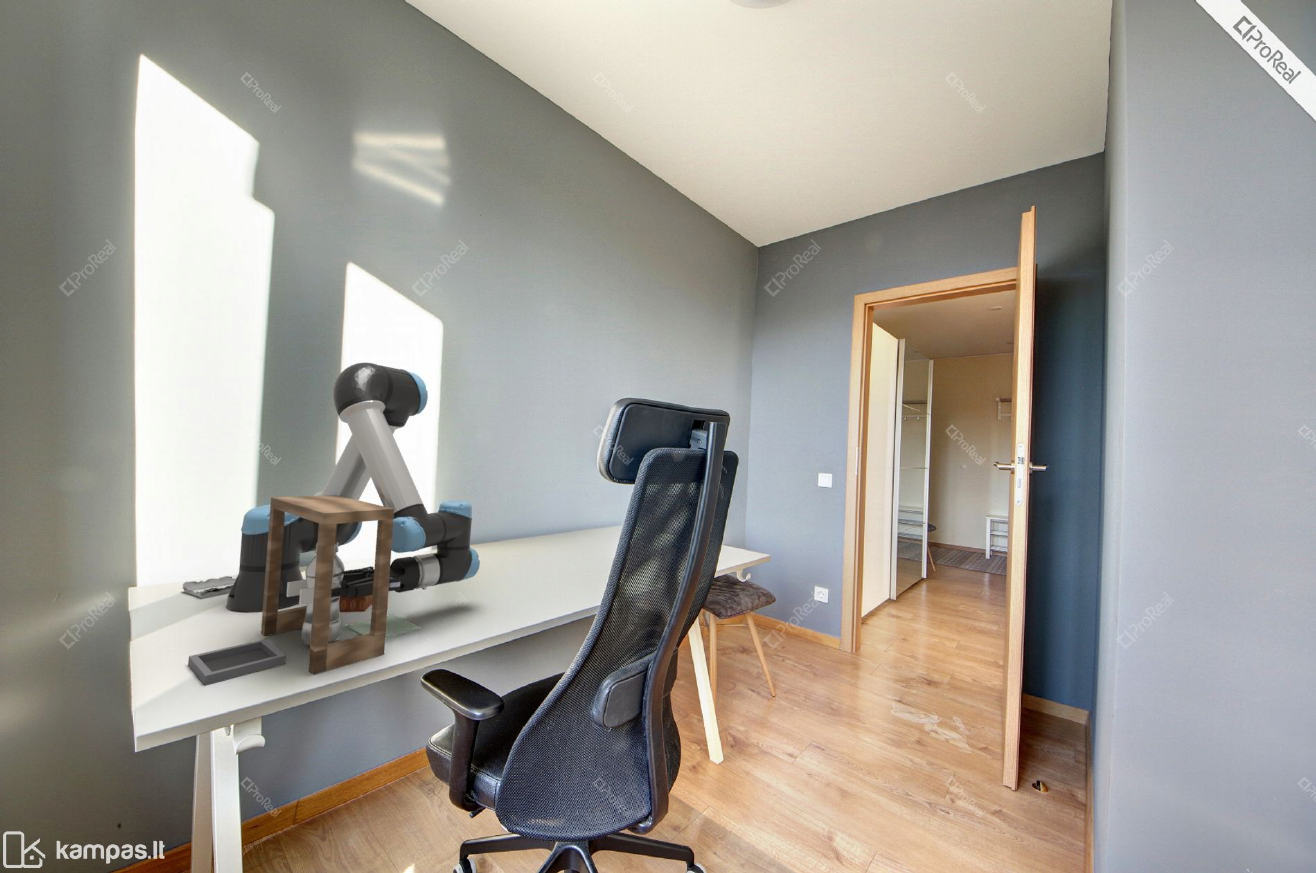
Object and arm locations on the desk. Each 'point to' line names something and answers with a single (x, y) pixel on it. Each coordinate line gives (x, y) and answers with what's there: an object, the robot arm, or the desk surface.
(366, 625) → the pad
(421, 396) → the robot arm
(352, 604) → the carton
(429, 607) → the desk surface
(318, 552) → the wooden stool
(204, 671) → the grey shallow rectangular tray
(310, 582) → the plastic bottle
